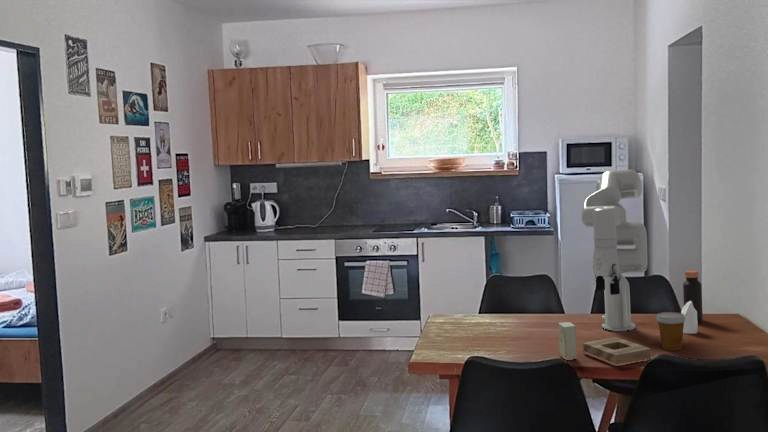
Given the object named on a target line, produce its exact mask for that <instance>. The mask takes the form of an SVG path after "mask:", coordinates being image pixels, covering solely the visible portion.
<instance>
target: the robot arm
mask: <svg viewBox="0 0 768 432" xmlns="http://www.w3.org/2000/svg"><path fill="white" fill-rule="evenodd" d="M595 190H596V191H595V192H594V193H592V194H590V195H589V196H587V198H585V200H584V201H583V203H582V204H583V205H582V210H581V222H582V224H583V226H584V227H587V228H593V242H594V243H593V244H594V245H593V257H592V258H593V259H592V268H593V269H592V270H593V274H594V279H595V290H596V291H603V292H604V294H603V295H604V310H605V311H604V312H605V313H604V315H601V318H600V319H602V320H604V322H603V323H602V324H601V328H602V327H603V328H604V329H603V328H602V329H603V330H605V329H608V330H614V331H613V332H627V330H629V331H633V330H634V329H636V324H635V323H633V322H632V320H631V319H632V318H631V295H630V284H629V281H628V280H627V278H626V277H625V276H624V275H623V274H642V273H644V272H645V271H647V269H648V263H649V262H648V236H647V229H646V228H647V227H646V226H645V224H644V223H642V222H639V221H627V211H626V208H625V207H624V206H623V205H622V204H621V203H620V202H621V200H622V199H623V200H626V199H638V198H640V196H641V195H642V192H643V184H642V181H641V177H640V175H639V173H638V172H637V171H636V170H634V169H614V170H613V169H612V170H607V171H604V172H603V173H602V174H601V175H600V177H599V180H598V181H597V182H596V185H595ZM618 247H634V248H618ZM608 330H607V331H608Z"/></svg>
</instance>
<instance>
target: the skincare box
mask: <svg viewBox="0 0 768 432" xmlns="http://www.w3.org/2000/svg"><path fill="white" fill-rule="evenodd" d="M557 324H558V348H559V349H558V351H559V352H560V353H561V354H562V355H563V356H564V357H573V356H577V329H576V328H577V326H576V325H575V323H572V322H571V321H565V322H558V323H557Z"/></svg>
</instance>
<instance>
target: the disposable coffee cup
mask: <svg viewBox="0 0 768 432" xmlns="http://www.w3.org/2000/svg"><path fill="white" fill-rule="evenodd" d="M655 319H656V320H657V324H658V329H659V336H660V342H661V347H662V349H663V350H665V351H671V352H672V351H674V352H675V351H679V350H682V348H683V347H682V346H683V335H684V333H683V328H684V321H685V317H684V315H683V314H682V313H681V312H677V311H676V312H675V311H674V312H673V311H665V312H659V313H658V314H657V315H656V318H655Z"/></svg>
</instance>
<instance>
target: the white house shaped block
mask: <svg viewBox="0 0 768 432" xmlns="http://www.w3.org/2000/svg"><path fill="white" fill-rule="evenodd" d="M680 313H682V314H683V315H684V317H685V321H684V328H683V334H690V335H693V334H698V323H699V322H697V311H696V310H695V308H694V307H693V303H692V301H688V302H687V303H686V304H685V305H684V304H683V306H682V308H681V311H680Z"/></svg>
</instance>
